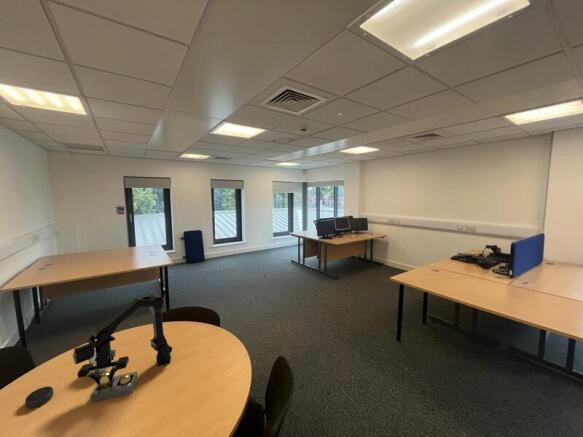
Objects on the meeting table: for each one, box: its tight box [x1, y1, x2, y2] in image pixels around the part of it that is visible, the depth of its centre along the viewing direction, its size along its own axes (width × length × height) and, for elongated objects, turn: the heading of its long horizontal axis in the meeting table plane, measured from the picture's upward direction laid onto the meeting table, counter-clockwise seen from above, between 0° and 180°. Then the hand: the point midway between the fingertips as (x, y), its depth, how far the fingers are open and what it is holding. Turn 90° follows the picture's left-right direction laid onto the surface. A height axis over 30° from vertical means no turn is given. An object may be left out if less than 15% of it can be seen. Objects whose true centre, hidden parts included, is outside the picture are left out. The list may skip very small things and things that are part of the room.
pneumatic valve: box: [87, 353, 108, 374], centre depth 130 cm, size 6×12×12 cm, turn 78°
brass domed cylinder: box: [99, 370, 112, 390], centre depth 115 cm, size 4×4×6 cm
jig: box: [90, 371, 139, 404], centre depth 116 cm, size 16×10×4 cm, turn 110°
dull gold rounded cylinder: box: [120, 372, 131, 385], centre depth 118 cm, size 4×4×6 cm
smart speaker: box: [24, 386, 54, 409], centre depth 110 cm, size 9×9×4 cm
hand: (105, 383), depth 115 cm, fingers closed on brass domed cylinder, 4 cm apart
